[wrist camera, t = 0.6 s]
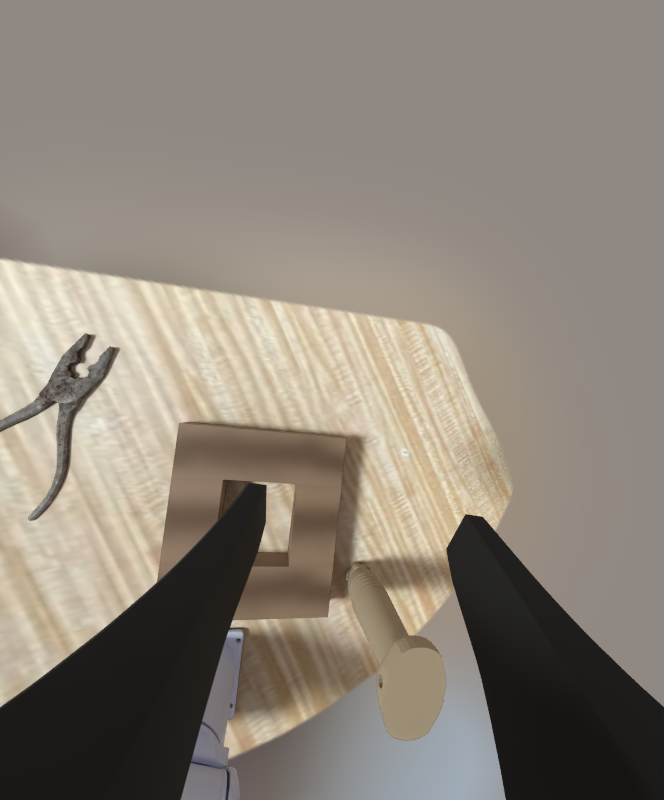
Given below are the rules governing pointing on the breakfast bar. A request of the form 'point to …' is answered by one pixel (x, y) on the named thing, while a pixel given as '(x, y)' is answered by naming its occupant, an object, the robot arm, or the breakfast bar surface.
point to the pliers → (63, 406)
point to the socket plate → (263, 462)
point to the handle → (398, 660)
